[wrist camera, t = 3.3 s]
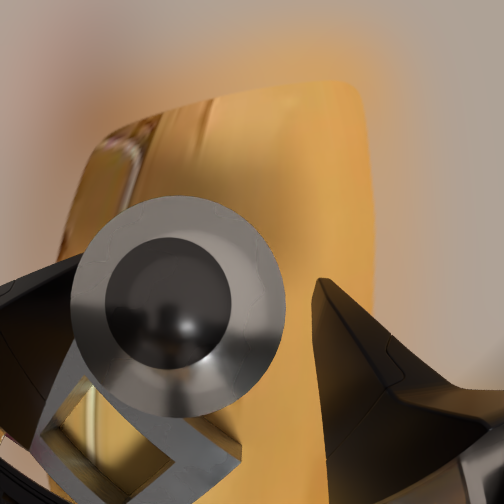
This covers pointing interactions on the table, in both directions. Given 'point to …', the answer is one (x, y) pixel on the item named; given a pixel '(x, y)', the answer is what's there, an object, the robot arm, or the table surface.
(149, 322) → the ring
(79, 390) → the jig
